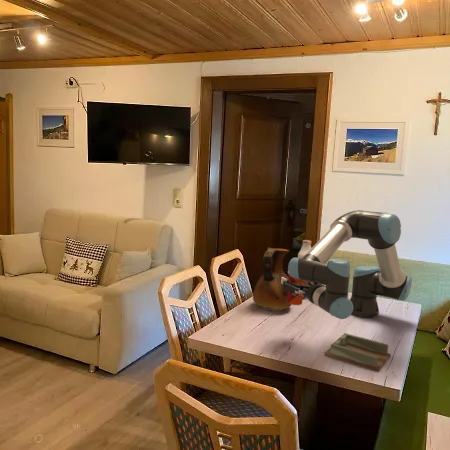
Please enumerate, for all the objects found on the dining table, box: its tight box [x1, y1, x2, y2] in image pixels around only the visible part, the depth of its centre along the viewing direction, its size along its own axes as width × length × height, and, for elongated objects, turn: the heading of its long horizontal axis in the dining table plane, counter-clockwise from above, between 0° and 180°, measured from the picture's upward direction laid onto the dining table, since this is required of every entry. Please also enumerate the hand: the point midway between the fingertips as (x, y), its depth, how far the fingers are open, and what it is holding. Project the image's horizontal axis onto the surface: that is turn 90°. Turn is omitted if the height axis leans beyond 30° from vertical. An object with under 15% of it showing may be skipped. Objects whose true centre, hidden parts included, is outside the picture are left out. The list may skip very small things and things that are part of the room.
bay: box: [323, 332, 391, 372], centre depth 164 cm, size 16×20×4 cm
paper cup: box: [287, 273, 305, 306], centre depth 177 cm, size 8×8×14 cm
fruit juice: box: [297, 239, 312, 258], centre depth 250 cm, size 9×9×28 cm
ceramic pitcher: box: [252, 247, 293, 311], centre depth 213 cm, size 20×20×30 cm
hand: (291, 279), depth 181 cm, fingers closed on paper cup, 8 cm apart
